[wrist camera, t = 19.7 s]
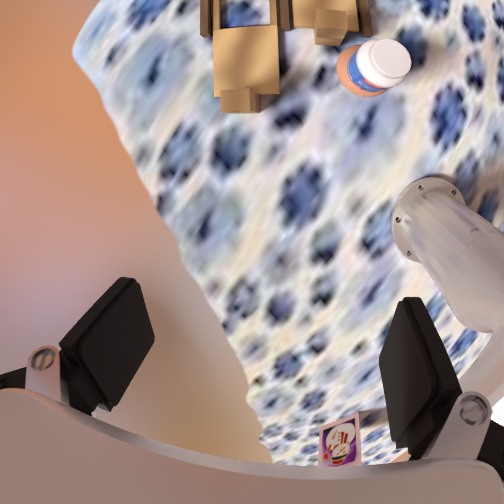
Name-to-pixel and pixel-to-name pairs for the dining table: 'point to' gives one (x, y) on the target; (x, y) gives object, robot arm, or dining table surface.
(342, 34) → the tan wooden block
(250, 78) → the slat bottle lane
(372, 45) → the pill bottle
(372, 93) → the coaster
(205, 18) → the lane rails
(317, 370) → the dining table surface
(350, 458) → the greeting card
